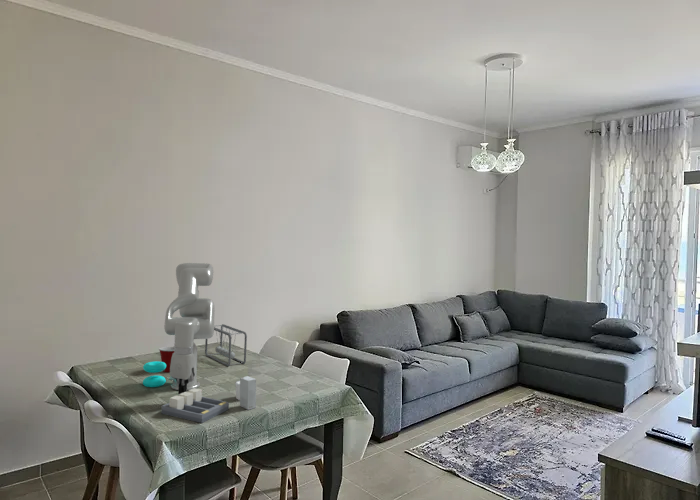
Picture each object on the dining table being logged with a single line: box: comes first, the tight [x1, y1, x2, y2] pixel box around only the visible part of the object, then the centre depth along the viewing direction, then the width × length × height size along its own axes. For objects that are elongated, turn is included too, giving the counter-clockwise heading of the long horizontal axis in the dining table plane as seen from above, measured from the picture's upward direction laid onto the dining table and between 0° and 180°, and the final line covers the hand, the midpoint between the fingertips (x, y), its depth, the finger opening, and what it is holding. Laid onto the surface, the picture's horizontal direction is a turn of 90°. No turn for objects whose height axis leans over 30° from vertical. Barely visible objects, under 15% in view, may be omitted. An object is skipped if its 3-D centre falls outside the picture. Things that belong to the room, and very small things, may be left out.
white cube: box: [169, 394, 184, 409], centre depth 186 cm, size 4×4×4 cm
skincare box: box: [239, 375, 257, 410], centre depth 196 cm, size 6×4×12 cm
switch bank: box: [160, 396, 230, 424], centre depth 189 cm, size 20×16×3 cm
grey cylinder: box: [234, 380, 240, 401], centre depth 207 cm, size 7×7×7 cm
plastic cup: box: [158, 346, 174, 374], centre depth 242 cm, size 11×11×12 cm
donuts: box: [142, 360, 167, 388], centre depth 220 cm, size 10×10×10 cm
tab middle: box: [178, 391, 193, 405], centre depth 191 cm, size 4×4×4 cm
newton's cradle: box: [204, 324, 248, 367], centre depth 268 cm, size 30×10×18 cm, turn 42°
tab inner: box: [187, 388, 203, 401], centre depth 196 cm, size 4×4×4 cm
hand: (182, 393), depth 198 cm, fingers closed
